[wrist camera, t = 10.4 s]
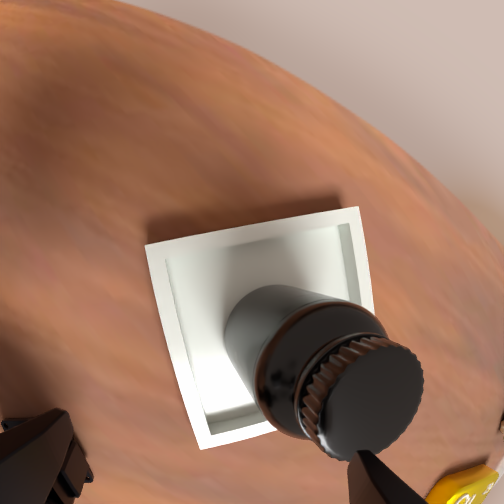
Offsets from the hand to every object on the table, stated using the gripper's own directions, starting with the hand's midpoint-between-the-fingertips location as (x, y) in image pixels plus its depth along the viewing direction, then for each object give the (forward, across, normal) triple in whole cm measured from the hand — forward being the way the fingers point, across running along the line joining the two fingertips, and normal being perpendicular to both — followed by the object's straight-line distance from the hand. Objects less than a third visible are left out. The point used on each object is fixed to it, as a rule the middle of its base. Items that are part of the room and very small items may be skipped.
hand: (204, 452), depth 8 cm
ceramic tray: (+14, -3, +2) cm, 14 cm away
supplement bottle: (+13, -3, +2) cm, 14 cm away
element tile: (+14, -34, +34) cm, 50 cm away
